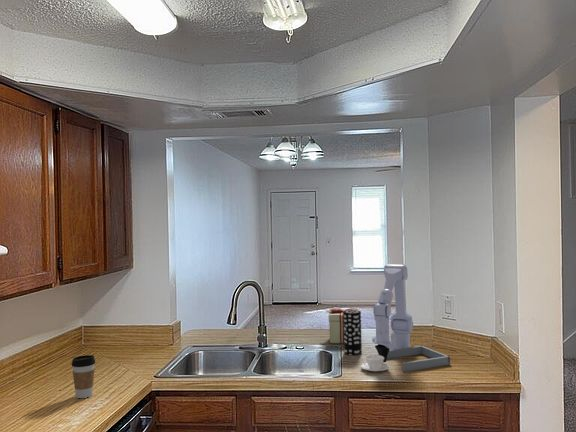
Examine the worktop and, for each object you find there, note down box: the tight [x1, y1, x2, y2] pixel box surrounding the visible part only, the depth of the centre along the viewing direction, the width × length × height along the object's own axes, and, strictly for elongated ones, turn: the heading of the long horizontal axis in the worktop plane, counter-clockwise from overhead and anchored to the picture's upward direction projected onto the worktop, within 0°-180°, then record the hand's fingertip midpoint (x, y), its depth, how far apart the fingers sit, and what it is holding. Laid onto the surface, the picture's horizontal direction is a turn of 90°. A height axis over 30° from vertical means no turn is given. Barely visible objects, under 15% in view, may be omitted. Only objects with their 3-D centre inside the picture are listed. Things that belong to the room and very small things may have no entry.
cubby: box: [387, 345, 451, 372], centre depth 223 cm, size 20×24×4 cm
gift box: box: [325, 307, 359, 344], centre depth 265 cm, size 17×18×17 cm
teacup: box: [360, 354, 390, 372], centre depth 213 cm, size 12×12×5 cm
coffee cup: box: [71, 354, 96, 399], centre depth 188 cm, size 8×8×15 cm
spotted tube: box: [343, 309, 363, 356], centre depth 239 cm, size 8×8×20 cm
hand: (383, 361), depth 217 cm, fingers closed, pressing on teacup
